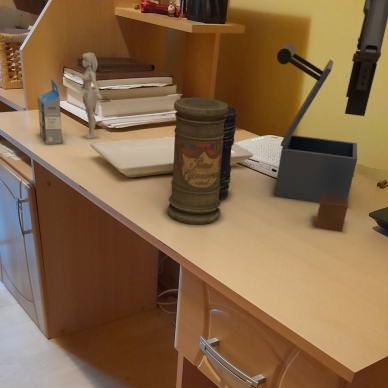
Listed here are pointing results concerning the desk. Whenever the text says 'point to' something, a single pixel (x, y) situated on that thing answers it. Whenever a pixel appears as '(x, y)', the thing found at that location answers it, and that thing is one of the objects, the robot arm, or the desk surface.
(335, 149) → the grey storage bin
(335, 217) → the block
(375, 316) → the desk surface
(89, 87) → the human figurine
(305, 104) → the lid
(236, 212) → the desk surface
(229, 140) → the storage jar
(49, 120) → the label tape box
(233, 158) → the tray
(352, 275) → the desk surface
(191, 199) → the container
